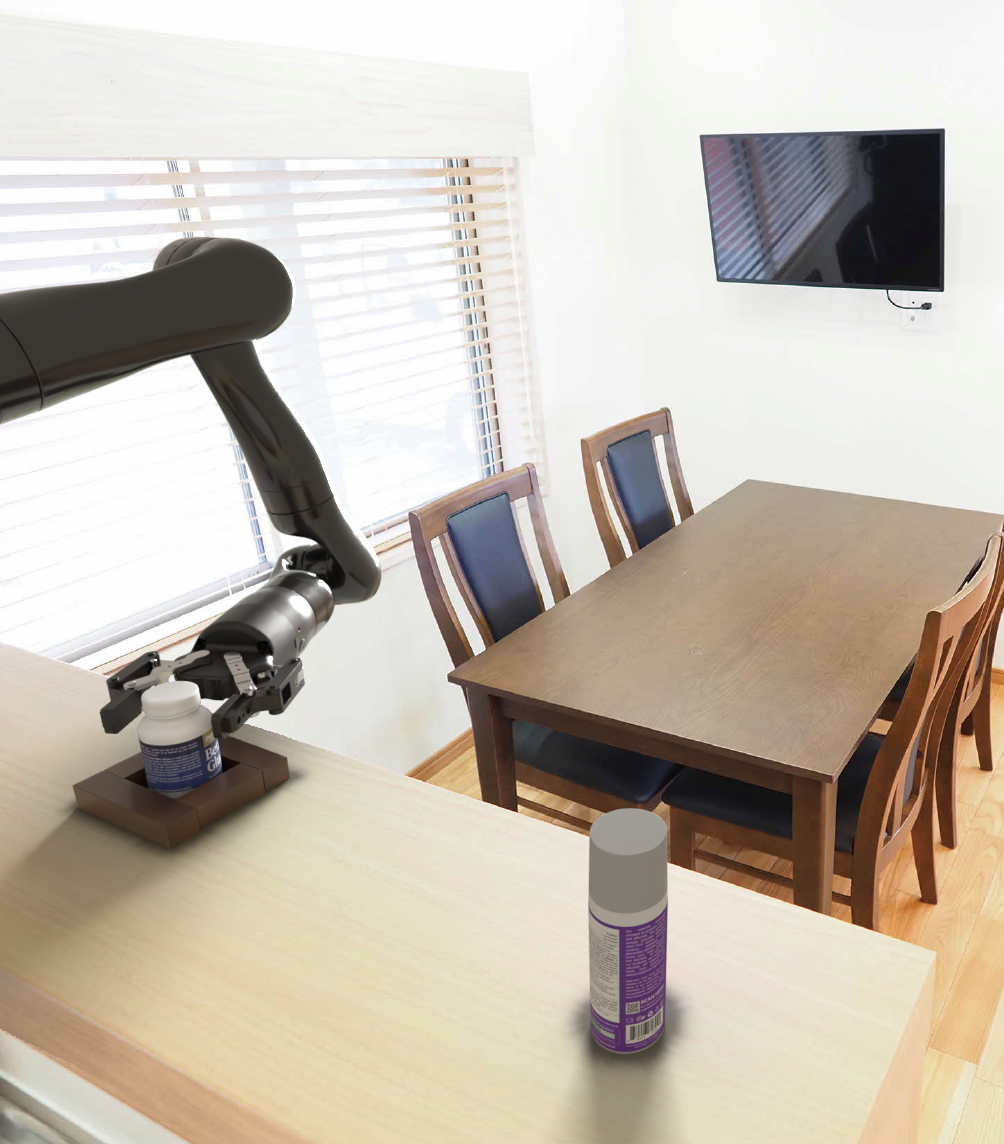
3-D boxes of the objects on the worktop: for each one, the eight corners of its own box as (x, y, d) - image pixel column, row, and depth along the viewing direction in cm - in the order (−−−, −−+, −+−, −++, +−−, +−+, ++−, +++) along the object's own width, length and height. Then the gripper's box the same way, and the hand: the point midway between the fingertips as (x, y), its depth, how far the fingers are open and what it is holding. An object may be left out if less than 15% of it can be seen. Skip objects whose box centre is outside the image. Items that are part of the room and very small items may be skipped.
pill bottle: (228, 803, 80) (210, 699, 77) (152, 821, 78) (130, 714, 74) (223, 770, 84) (205, 671, 81) (151, 786, 82) (129, 684, 78)
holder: (172, 852, 74) (166, 825, 73) (78, 811, 78) (72, 785, 77) (290, 781, 84) (287, 756, 83) (201, 747, 88) (197, 723, 87)
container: (667, 999, 63) (671, 807, 58) (662, 1059, 59) (666, 858, 54) (595, 998, 63) (593, 805, 58) (585, 1058, 59) (581, 856, 53)
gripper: (175, 598, 90) (60, 680, 75) (330, 605, 91) (246, 688, 76) (189, 670, 93) (80, 763, 78) (339, 676, 93) (259, 770, 78)
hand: (162, 726), depth 77 cm, fingers open, 8 cm apart
